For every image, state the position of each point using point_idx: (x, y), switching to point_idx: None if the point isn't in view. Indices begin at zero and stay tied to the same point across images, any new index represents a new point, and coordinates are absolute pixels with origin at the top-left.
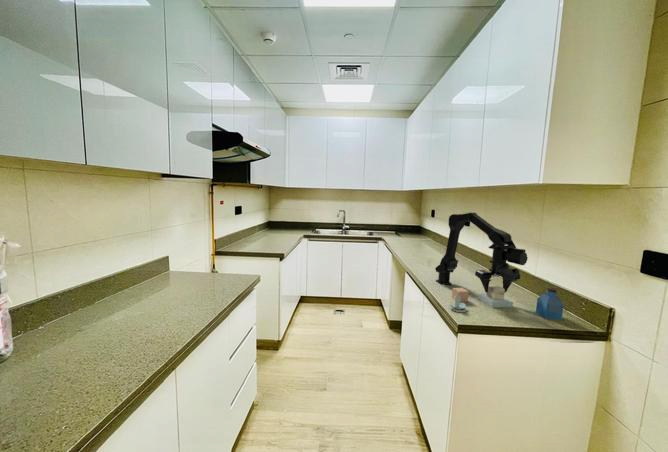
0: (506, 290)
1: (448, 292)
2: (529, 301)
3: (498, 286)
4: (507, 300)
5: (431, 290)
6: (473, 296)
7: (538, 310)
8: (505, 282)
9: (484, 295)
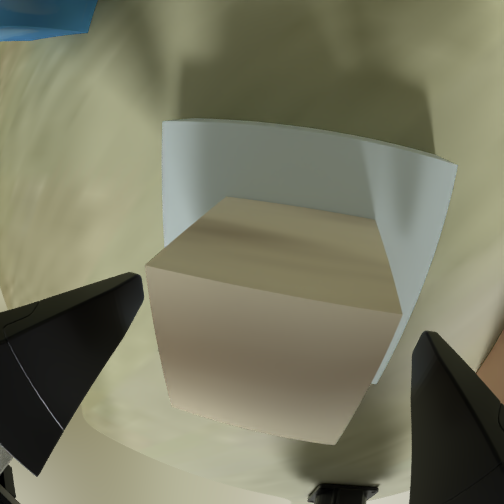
0: (109, 280)
1: None
2: (26, 213)
3: (178, 382)
4: (197, 165)
5: None
6: None
7: (77, 3)
8: (47, 383)
9: None
